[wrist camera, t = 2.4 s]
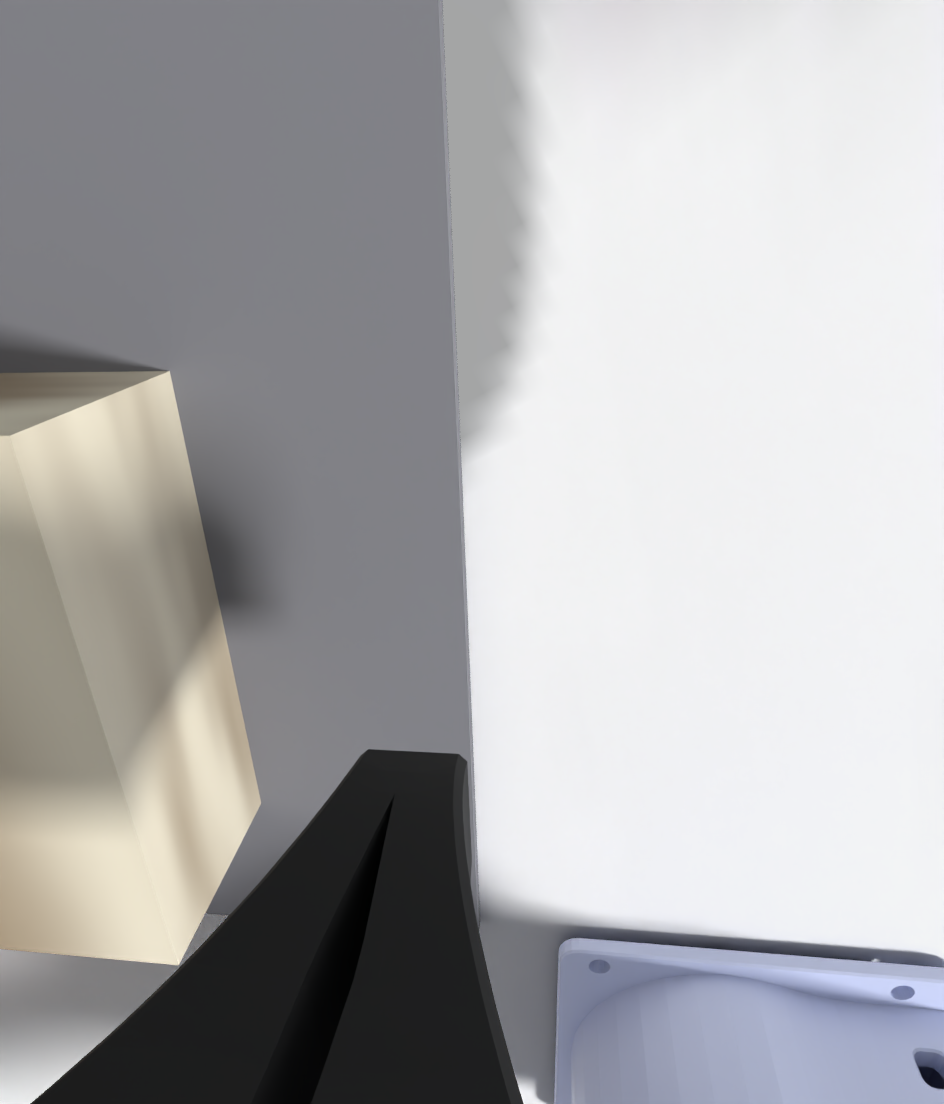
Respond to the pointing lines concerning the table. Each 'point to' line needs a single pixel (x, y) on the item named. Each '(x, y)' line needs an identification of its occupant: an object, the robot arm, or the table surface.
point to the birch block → (110, 676)
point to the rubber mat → (267, 340)
